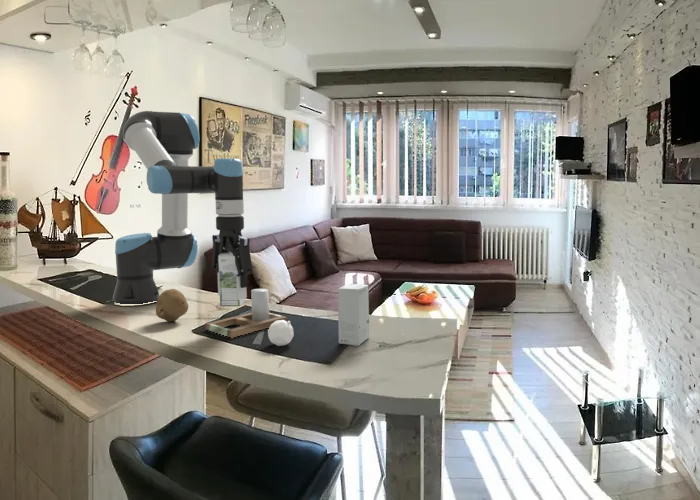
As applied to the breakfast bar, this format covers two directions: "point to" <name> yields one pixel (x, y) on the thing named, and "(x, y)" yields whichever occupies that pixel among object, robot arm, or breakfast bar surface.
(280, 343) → the ornament
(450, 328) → the breakfast bar surface
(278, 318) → the socket board
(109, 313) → the breakfast bar surface
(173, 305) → the brown potato
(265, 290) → the grey canister
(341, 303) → the skincare box
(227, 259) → the syrup box
